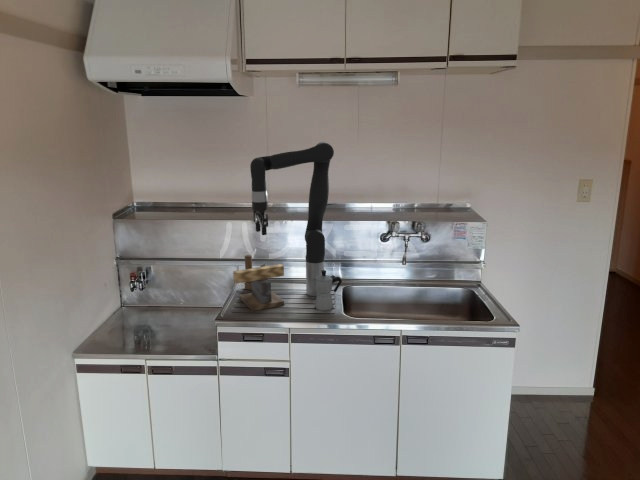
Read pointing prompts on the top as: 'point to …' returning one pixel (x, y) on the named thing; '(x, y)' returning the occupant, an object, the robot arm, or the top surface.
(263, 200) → the robot arm
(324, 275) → the coffee maker
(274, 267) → the oak bar
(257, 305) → the ridge stand
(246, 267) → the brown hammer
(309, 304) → the top surface
